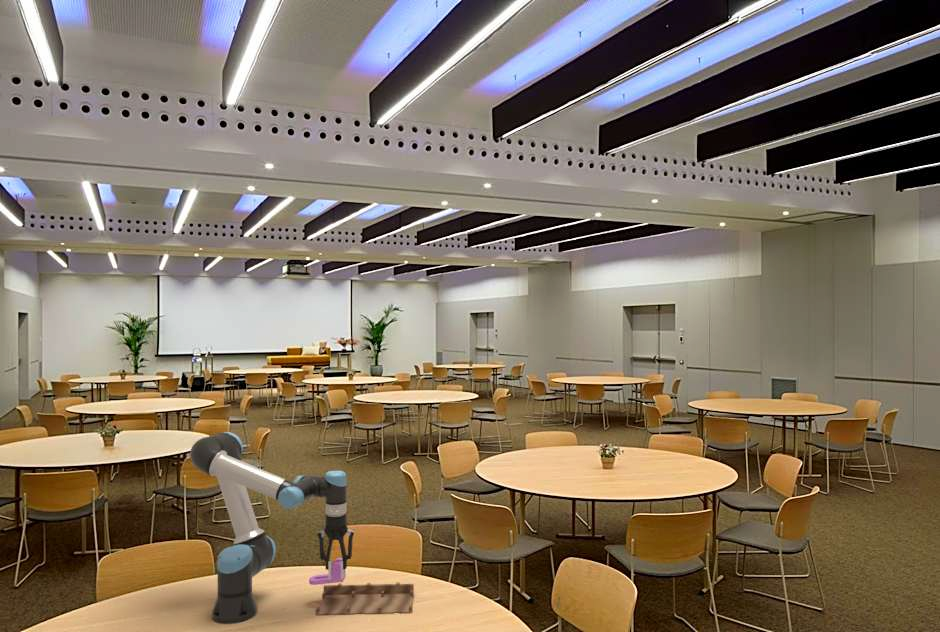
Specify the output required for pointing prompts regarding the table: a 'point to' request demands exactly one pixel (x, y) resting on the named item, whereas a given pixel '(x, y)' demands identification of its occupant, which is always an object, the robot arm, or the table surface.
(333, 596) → the ledge
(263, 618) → the table surface
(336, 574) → the bracket
